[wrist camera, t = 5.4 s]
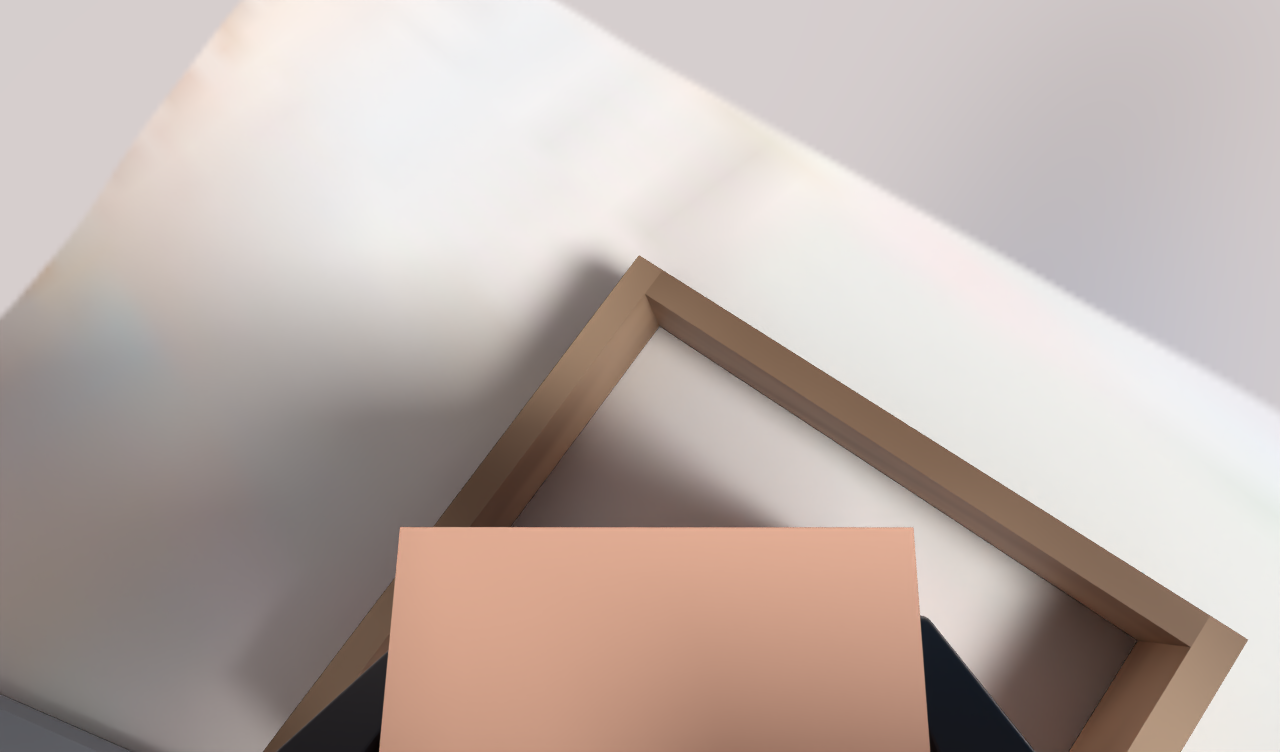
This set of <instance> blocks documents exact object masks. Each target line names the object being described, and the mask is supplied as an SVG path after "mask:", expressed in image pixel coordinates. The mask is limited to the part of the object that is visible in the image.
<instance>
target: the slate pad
mask: <svg viewBox="0 0 1280 752" xmlns="http://www.w3.org/2000/svg"><path fill="white" fill-rule="evenodd" d="M0 752H131V751H129V750H127V749H125V748H122V747H120V746H118V745H115V744H113V743H111V742H109V741H106V740H104V739H102V738H99V737H97V736H95V735H93V734H90V733H88V732H86V731H83V730H81V729H79V728H77V727H74V726H72V725H70V724H67V723H65V722H63V721H61V720H58V719H56V718H54V717H51V716H49V715H47V714H45V713H42V712H40V711H38V710H35V709H33V708H31V707H29V706H26V705H24V704H22V703H19V702H17V701H15V700H13V699H10V698H8V697H6V696H3V695H1V694H0Z"/></svg>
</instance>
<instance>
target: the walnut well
mask: <svg viewBox="0 0 1280 752" xmlns="http://www.w3.org/2000/svg"><path fill="white" fill-rule="evenodd" d="M659 326H660V327H662V328H663V329H665V330H666V331H668V332H669V333H671V334H672V335H674V336H675V337H677V338H679V339H680V340H682V341H683V342H685V343H686V344H688V345H689V346H691V347H692V348H694V349H695V350H697V351H698V352H700V353H701V354H703V355H704V356H706V357H707V358H709V359H710V360H712V361H713V362H715V363H717V364H718V365H720V366H721V367H723V368H724V369H726V370H727V371H729V372H730V373H732V374H733V375H735V376H736V377H738V378H739V379H741V380H742V381H744V382H745V383H747V384H748V385H750V386H751V387H753V388H755V389H756V390H758V391H759V392H761V393H762V394H764V395H765V396H767V397H768V398H770V399H771V400H773V401H774V402H776V403H777V404H779V405H780V406H782V407H783V408H785V409H786V410H788V411H789V412H791V413H793V414H794V415H796V416H797V417H799V418H800V419H802V420H803V421H805V422H806V423H808V424H809V425H811V426H812V427H814V428H815V429H817V430H818V431H820V432H821V433H823V434H824V435H826V436H827V437H829V438H831V439H832V440H834V441H835V442H837V443H838V444H840V445H841V446H843V447H844V448H846V449H847V450H849V451H850V452H852V453H853V454H855V455H856V456H858V457H859V458H861V459H862V460H864V461H865V462H867V463H869V464H870V465H872V466H873V467H875V468H876V469H878V470H879V471H881V472H882V473H884V474H885V475H887V476H888V477H890V478H891V479H893V480H894V481H896V482H897V483H899V484H900V485H902V486H903V487H905V488H907V489H908V490H910V491H911V492H913V493H914V494H916V495H917V496H919V497H920V498H922V499H923V500H925V501H926V502H928V503H929V504H931V505H932V506H934V507H935V508H937V509H938V510H940V511H941V512H943V513H945V514H946V515H948V516H949V517H951V518H952V519H954V520H955V521H957V522H958V523H960V524H961V525H963V526H964V527H966V528H967V529H969V530H970V531H972V532H973V533H975V534H976V535H978V536H979V537H981V538H983V539H984V540H986V541H987V542H989V543H990V544H992V545H993V546H995V547H996V548H998V549H999V550H1001V551H1002V552H1004V553H1005V554H1007V555H1008V556H1010V557H1011V558H1013V559H1014V560H1016V561H1017V562H1019V563H1021V564H1022V565H1024V566H1025V567H1027V568H1028V569H1030V570H1031V571H1033V572H1034V573H1036V574H1037V575H1039V576H1040V577H1042V578H1043V579H1045V580H1046V581H1048V582H1049V583H1051V584H1052V585H1054V586H1055V587H1057V588H1059V589H1060V590H1062V591H1063V592H1065V593H1066V594H1068V595H1069V596H1071V597H1072V598H1074V599H1075V600H1077V601H1078V602H1080V603H1081V604H1083V605H1084V606H1086V607H1087V608H1089V609H1090V610H1092V611H1093V612H1095V613H1097V614H1098V615H1100V616H1101V617H1103V618H1104V619H1106V620H1107V621H1109V622H1110V623H1112V624H1113V625H1115V626H1116V627H1118V628H1119V629H1121V630H1122V631H1124V632H1125V633H1127V634H1128V635H1130V636H1131V637H1133V638H1135V639H1136V640H1138V641H1137V643H1136V644H1135V646H1134V647H1133V649H1132V651H1131V652H1130V654H1129V656H1128V657H1127V659H1126V660H1125V662H1124V664H1123V665H1122V667H1121V668H1120V670H1119V672H1118V673H1117V675H1116V677H1115V678H1114V680H1113V681H1112V683H1111V685H1110V686H1109V688H1108V689H1107V691H1106V693H1105V694H1104V696H1103V697H1102V699H1101V701H1100V702H1099V704H1098V706H1097V707H1096V709H1095V710H1094V712H1093V714H1092V715H1091V717H1090V718H1089V720H1088V722H1087V723H1086V725H1085V726H1084V728H1083V730H1082V731H1081V733H1080V735H1079V736H1078V738H1077V739H1076V741H1075V743H1074V744H1073V746H1072V747H1071V749H1070V751H1069V752H1181V751H1182V749H1183V747H1184V746H1185V744H1186V742H1187V741H1188V739H1189V737H1190V736H1191V734H1192V732H1193V731H1194V729H1195V727H1196V726H1197V724H1198V722H1199V721H1200V719H1201V717H1202V716H1203V714H1204V712H1205V711H1206V709H1207V707H1208V706H1209V704H1210V702H1211V701H1212V699H1213V697H1214V696H1215V694H1216V692H1217V691H1218V689H1219V687H1220V686H1221V684H1222V682H1223V681H1224V679H1225V677H1226V676H1227V674H1228V672H1229V671H1230V669H1231V667H1232V666H1233V664H1234V662H1235V661H1236V659H1237V657H1238V656H1239V654H1240V652H1241V651H1242V649H1243V647H1244V646H1245V644H1246V642H1247V641H1248V639H1246V638H1245V637H1243V636H1241V635H1240V634H1238V633H1237V632H1235V631H1233V630H1232V629H1230V628H1229V627H1227V626H1226V625H1224V624H1222V623H1221V622H1219V621H1218V620H1216V619H1214V618H1213V617H1211V616H1210V615H1208V614H1207V613H1205V612H1203V611H1202V610H1200V609H1199V608H1197V607H1195V606H1194V605H1192V604H1191V603H1189V602H1188V601H1186V600H1184V599H1183V598H1181V597H1180V596H1178V595H1176V594H1175V593H1173V592H1172V591H1170V590H1169V589H1167V588H1165V587H1164V586H1162V585H1161V584H1159V583H1157V582H1156V581H1154V580H1153V579H1151V578H1149V577H1148V576H1146V575H1145V574H1143V573H1142V572H1140V571H1138V570H1137V569H1135V568H1134V567H1132V566H1130V565H1129V564H1127V563H1126V562H1124V561H1123V560H1121V559H1119V558H1118V557H1116V556H1115V555H1113V554H1111V553H1110V552H1108V551H1107V550H1105V549H1104V548H1102V547H1100V546H1099V545H1097V544H1096V543H1094V542H1092V541H1091V540H1089V539H1088V538H1086V537H1085V536H1083V535H1081V534H1080V533H1078V532H1077V531H1075V530H1073V529H1072V528H1070V527H1069V526H1067V525H1066V524H1064V523H1062V522H1061V521H1059V520H1058V519H1056V518H1054V517H1053V516H1051V515H1050V514H1048V513H1047V512H1045V511H1043V510H1042V509H1040V508H1039V507H1037V506H1035V505H1034V504H1032V503H1031V502H1029V501H1028V500H1026V499H1024V498H1023V497H1021V496H1020V495H1018V494H1016V493H1015V492H1013V491H1012V490H1010V489H1008V488H1007V487H1005V486H1004V485H1002V484H1001V483H999V482H997V481H996V480H994V479H993V478H991V477H989V476H988V475H986V474H985V473H983V472H982V471H980V470H978V469H977V468H975V467H974V466H972V465H970V464H969V463H967V462H966V461H964V460H963V459H961V458H959V457H958V456H956V455H955V454H953V453H951V452H950V451H948V450H947V449H945V448H944V447H942V446H940V445H939V444H937V443H936V442H934V441H932V440H931V439H929V438H928V437H926V436H925V435H923V434H921V433H920V432H918V431H917V430H915V429H913V428H912V427H910V426H909V425H907V424H906V423H904V422H902V421H901V420H899V419H898V418H896V417H894V416H893V415H891V414H890V413H888V412H887V411H885V410H883V409H882V408H880V407H879V406H877V405H875V404H874V403H872V402H871V401H869V400H868V399H866V398H864V397H863V396H861V395H860V394H858V393H856V392H855V391H853V390H852V389H850V388H848V387H847V386H845V385H844V384H842V383H841V382H839V381H837V380H836V379H834V378H833V377H831V376H829V375H828V374H826V373H825V372H823V371H822V370H820V369H818V368H817V367H815V366H814V365H812V364H810V363H809V362H807V361H806V360H804V359H803V358H801V357H799V356H798V355H796V354H795V353H793V352H791V351H790V350H788V349H787V348H785V347H784V346H782V345H780V344H779V343H777V342H776V341H774V340H772V339H771V338H769V337H768V336H766V335H765V334H763V333H761V332H760V331H758V330H757V329H755V328H753V327H752V326H750V325H749V324H747V323H746V322H744V321H742V320H741V319H739V318H738V317H736V316H734V315H733V314H731V313H730V312H728V311H727V310H725V309H723V308H722V307H720V306H719V305H717V304H715V303H714V302H712V301H711V300H709V299H708V298H706V297H704V296H703V295H701V294H700V293H698V292H696V291H695V290H693V289H692V288H690V287H688V286H687V285H685V284H684V283H682V282H681V281H679V280H677V279H676V278H674V277H673V276H671V275H669V274H668V273H666V272H665V271H663V270H662V269H660V268H658V267H657V266H655V265H654V264H652V263H650V262H649V261H647V260H646V259H644V258H643V257H641V256H638V257H637V259H636V260H635V261H634V262H633V264H632V265H631V266H630V268H629V269H628V270H627V272H626V273H625V274H624V276H623V277H622V278H621V280H620V281H619V282H618V284H617V285H616V286H615V288H614V289H613V290H612V292H611V293H610V294H609V295H608V297H607V298H606V299H605V301H604V302H603V303H602V305H601V306H600V307H599V309H598V310H597V311H596V313H595V314H594V315H593V317H592V318H591V319H590V321H589V322H588V323H587V325H586V326H585V327H584V329H583V330H582V331H581V332H580V334H579V335H578V336H577V338H576V339H575V340H574V342H573V343H572V344H571V346H570V347H569V348H568V350H567V351H566V352H565V354H564V355H563V356H562V358H561V359H560V360H559V362H558V363H557V364H556V365H555V367H554V368H553V369H552V371H551V372H550V373H549V375H548V376H547V377H546V379H545V380H544V381H543V383H542V384H541V385H540V387H539V388H538V389H537V391H536V392H535V393H534V395H533V396H532V397H531V398H530V400H529V401H528V402H527V404H526V405H525V406H524V408H523V409H522V410H521V412H520V413H519V414H518V416H517V417H516V418H515V420H514V421H513V422H512V424H511V425H510V426H509V428H508V429H507V430H506V431H505V433H504V434H503V435H502V437H501V438H500V439H499V441H498V442H497V443H496V445H495V446H494V447H493V449H492V450H491V451H490V453H489V454H488V455H487V457H486V458H485V459H484V461H483V462H482V463H481V464H480V466H479V467H478V468H477V470H476V471H475V472H474V474H473V475H472V476H471V478H470V479H469V480H468V482H467V483H466V484H465V486H464V487H463V488H462V490H461V491H460V492H459V494H458V495H457V496H456V497H455V499H454V500H453V501H452V503H451V504H450V505H449V507H448V508H447V509H446V511H445V512H444V513H443V515H442V516H441V517H440V519H439V520H438V521H437V523H436V524H435V525H434V527H511V525H512V524H513V523H514V521H515V520H516V519H517V517H518V516H519V514H520V513H521V512H522V510H523V509H524V508H525V506H526V505H527V504H528V502H529V501H530V500H531V498H532V497H533V496H534V494H535V493H536V492H537V490H538V489H539V488H540V486H541V485H542V484H543V482H544V481H545V480H546V478H547V477H548V475H549V474H550V473H551V471H552V470H553V469H554V467H555V466H556V465H557V463H558V462H559V461H560V459H561V458H562V457H563V455H564V454H565V453H566V451H567V450H568V449H569V447H570V446H571V445H572V443H573V442H574V441H575V439H576V438H577V436H578V435H579V434H580V432H581V431H582V430H583V428H584V427H585V426H586V424H587V423H588V422H589V420H590V419H591V418H592V416H593V415H594V414H595V412H596V411H597V410H598V408H599V407H600V406H601V404H602V403H603V402H604V400H605V399H606V398H607V396H608V395H609V393H610V392H611V391H612V389H613V388H614V387H615V385H616V384H617V383H618V381H619V380H620V379H621V377H622V376H623V375H624V373H625V372H626V371H627V369H628V368H629V367H630V365H631V364H632V363H633V361H634V360H635V359H636V357H637V356H638V354H639V353H640V352H641V350H642V349H643V348H644V346H645V345H646V344H647V342H648V341H649V340H650V338H651V337H652V336H653V334H654V333H655V332H656V330H657V329H658V328H659ZM394 586H395V578H394V579H393V581H392V582H391V583H390V585H389V586H388V587H387V589H386V590H385V591H384V593H383V594H382V595H381V597H380V598H379V599H378V600H377V602H376V603H375V604H374V606H373V607H372V608H371V610H370V611H369V612H368V614H367V615H366V616H365V618H364V619H363V620H362V622H361V623H360V624H359V626H358V627H357V628H356V630H355V631H354V632H353V633H352V635H351V636H350V637H349V639H348V640H347V641H346V643H345V644H344V645H343V647H342V648H341V649H340V651H339V652H338V653H337V655H336V656H335V657H334V659H333V660H332V661H331V663H330V664H329V665H328V666H327V668H326V669H325V670H324V672H323V673H322V674H321V676H320V677H319V678H318V680H317V681H316V682H315V684H314V685H313V686H312V688H311V689H310V690H309V692H308V693H307V694H306V696H305V697H304V698H303V699H302V701H301V702H300V703H299V705H298V706H297V707H296V709H295V710H294V711H293V713H292V714H291V715H290V717H289V718H288V719H287V721H286V722H285V723H284V725H283V726H282V727H281V729H280V730H279V731H278V732H277V734H276V735H275V736H274V738H273V739H272V740H271V742H270V743H269V744H268V746H267V747H266V748H265V750H264V751H263V752H276V751H277V750H278V749H279V748H280V747H282V746H283V745H284V744H285V743H286V742H287V741H288V740H289V739H290V738H292V737H293V736H294V735H295V734H296V733H297V732H298V731H299V730H300V729H302V728H303V727H304V726H305V725H306V724H307V723H308V722H309V721H310V720H312V719H313V718H314V717H315V716H316V715H317V714H318V713H319V712H320V711H322V710H323V709H324V708H325V707H326V706H327V705H328V704H329V703H330V702H332V701H333V700H334V699H335V698H336V697H337V696H338V695H339V694H340V693H342V692H343V691H344V690H345V689H346V688H347V687H348V686H349V685H350V684H352V683H353V682H354V681H355V680H356V679H357V678H358V677H359V676H360V675H362V674H363V673H364V672H365V671H366V670H367V669H368V668H369V667H370V666H372V665H373V664H374V663H375V662H376V661H377V660H378V659H379V658H380V657H382V656H383V655H384V654H385V653H386V652H387V651H388V650H389V640H390V629H391V618H392V608H393V597H394Z"/></svg>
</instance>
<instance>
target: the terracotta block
mask: <svg viewBox="0 0 1280 752" xmlns="http://www.w3.org/2000/svg"><path fill="white" fill-rule="evenodd" d="M379 752H930V743H929V729H928V716H927V703H926V690H925V676H924V663H923V650H922V636H921V623H920V610H919V597H918V583H917V570H916V557H915V543H914V530H913V528H856V527H400V532H399V543H398V554H397V565H396V575H395V586H394V597H393V608H392V618H391V629H390V640H389V651H388V661H387V672H386V683H385V694H384V704H383V715H382V726H381V737H380V747H379Z"/></svg>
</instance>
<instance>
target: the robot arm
mask: <svg viewBox="0 0 1280 752" xmlns="http://www.w3.org/2000/svg"><path fill="white" fill-rule="evenodd" d="M920 623H921V636H922V650H923V663H924V676H925V690H926V703H927V716H928V729H929V743H930V752H1035V751H1034V750H1033V748H1032V747H1031V746H1030V745H1029V743H1028V742H1027V741H1026V740H1025V738H1024V737H1023V736H1022V734H1021V733H1020V732H1019V731H1018V729H1017V728H1016V727H1015V726H1014V724H1013V723H1012V722H1011V721H1010V719H1009V718H1008V717H1007V716H1006V714H1005V713H1004V712H1003V711H1002V709H1001V708H1000V707H999V706H998V704H997V703H996V702H995V701H994V699H993V698H992V697H991V696H990V694H989V693H988V692H987V691H986V689H985V688H984V687H983V686H982V684H981V683H980V682H979V681H978V679H977V678H976V677H975V676H974V674H973V673H972V672H971V671H970V669H969V668H968V667H967V666H966V664H965V663H964V662H963V661H962V659H961V658H960V657H959V656H958V654H957V653H956V652H955V651H954V649H953V648H952V647H951V646H950V644H949V643H948V642H947V641H946V639H945V638H944V637H943V636H942V634H941V633H940V632H939V631H938V629H937V628H936V627H935V626H934V624H933V623H932V622H931V621H930V620H929V619H928V618H926V617H924V616H920ZM388 651H389V650H388ZM388 651H387V652H386V653H385V654H384V655H383V656H382V657H380V658H379V659H378V660H377V661H376V662H375V663H374V664H373V665H372V666H370V667H369V668H368V669H367V670H366V671H365V672H364V673H363V674H362V675H360V676H359V677H358V678H357V679H356V680H355V681H354V682H353V683H352V684H350V685H349V686H348V687H347V688H346V689H345V690H344V691H343V692H342V693H340V694H339V695H338V696H337V697H336V698H335V699H334V700H333V701H332V702H330V703H329V704H328V705H327V706H326V707H325V708H324V709H323V710H322V711H320V712H319V713H318V714H317V715H316V716H315V717H314V718H313V719H312V720H310V721H309V722H308V723H307V724H306V725H305V726H304V727H303V728H302V729H300V730H299V731H298V732H297V733H296V734H295V735H294V736H293V737H292V738H290V739H289V740H288V741H287V742H286V743H285V744H284V745H283V746H282V747H280V748H279V749H278V750H277V751H276V752H379V747H380V737H381V726H382V715H383V704H384V694H385V683H386V672H387V661H388Z"/></svg>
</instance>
